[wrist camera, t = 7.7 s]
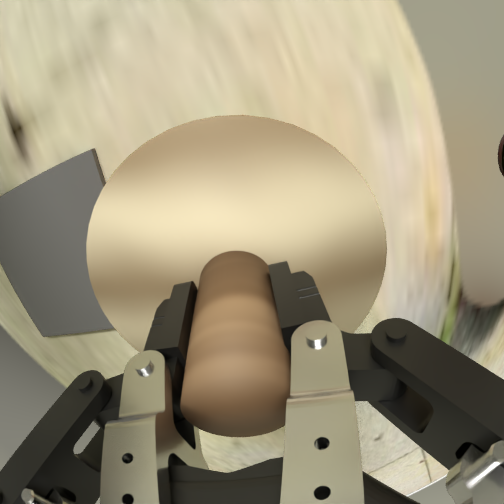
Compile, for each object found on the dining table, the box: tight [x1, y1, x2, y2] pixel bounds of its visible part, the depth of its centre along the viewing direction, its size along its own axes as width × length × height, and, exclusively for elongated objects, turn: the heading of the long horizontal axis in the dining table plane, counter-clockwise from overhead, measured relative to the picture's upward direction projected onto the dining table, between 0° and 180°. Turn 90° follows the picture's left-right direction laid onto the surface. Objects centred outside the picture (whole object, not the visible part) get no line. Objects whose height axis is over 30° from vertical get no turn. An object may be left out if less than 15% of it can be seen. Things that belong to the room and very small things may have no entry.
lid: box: [86, 115, 387, 437], centre depth 10 cm, size 13×13×7 cm
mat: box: [0, 148, 114, 337], centre depth 20 cm, size 14×14×1 cm
